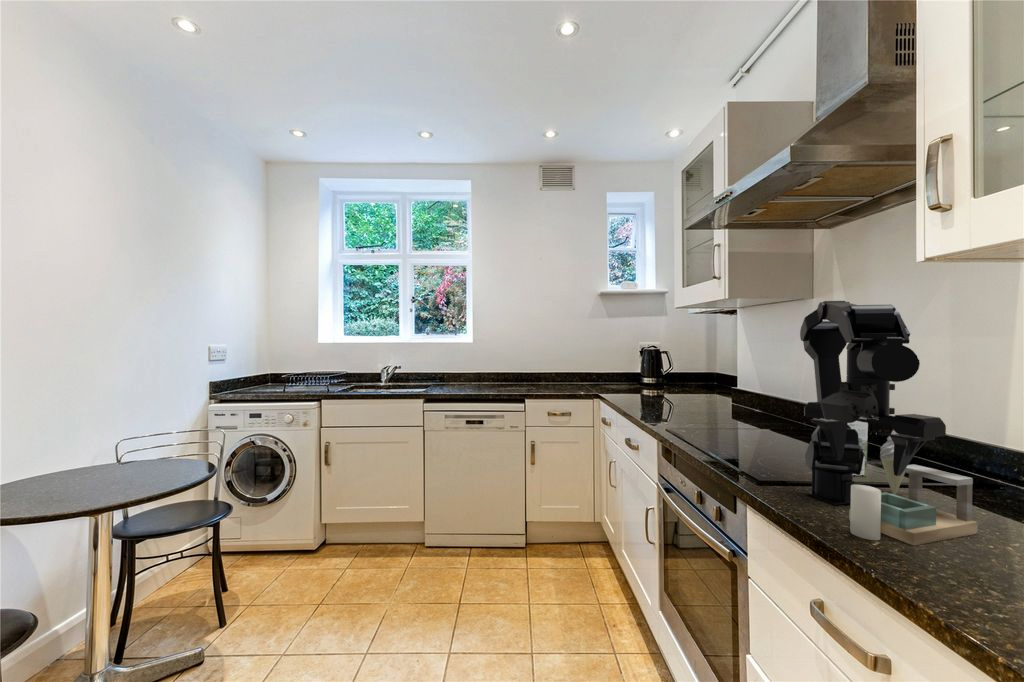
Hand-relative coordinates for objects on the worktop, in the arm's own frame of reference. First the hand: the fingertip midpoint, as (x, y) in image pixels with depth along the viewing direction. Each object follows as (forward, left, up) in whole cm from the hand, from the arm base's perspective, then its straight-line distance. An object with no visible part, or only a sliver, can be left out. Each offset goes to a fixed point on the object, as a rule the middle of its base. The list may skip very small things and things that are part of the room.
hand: (866, 467), depth 72 cm
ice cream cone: (-12, +27, -12) cm, 32 cm away
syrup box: (-26, +33, -12) cm, 44 cm away
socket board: (0, +11, -12) cm, 16 cm away
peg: (0, 0, -12) cm, 12 cm away
